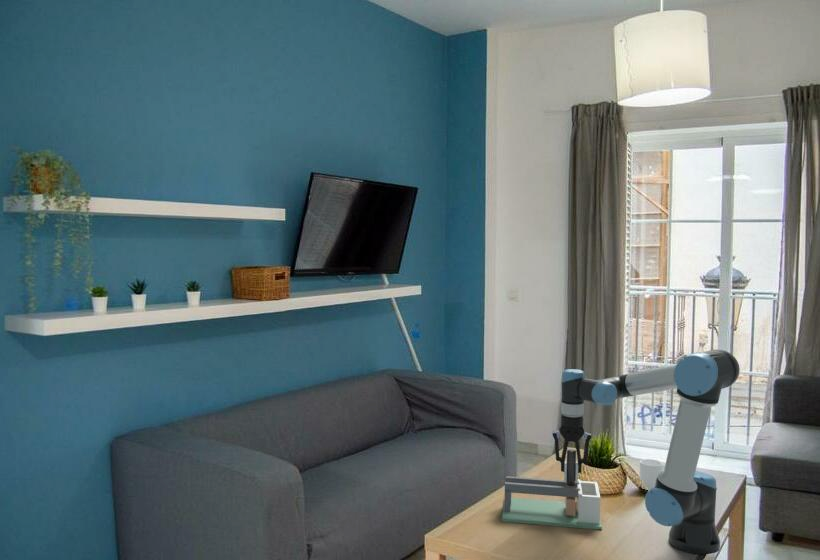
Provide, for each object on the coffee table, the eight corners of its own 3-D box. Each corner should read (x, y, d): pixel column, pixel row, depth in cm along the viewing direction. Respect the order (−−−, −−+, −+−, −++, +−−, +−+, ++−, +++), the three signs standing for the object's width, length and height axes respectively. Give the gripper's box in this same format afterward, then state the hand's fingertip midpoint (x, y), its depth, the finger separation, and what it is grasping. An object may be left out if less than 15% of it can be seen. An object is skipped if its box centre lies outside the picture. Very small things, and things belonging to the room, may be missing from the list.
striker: (575, 515, 242) (576, 455, 241) (566, 515, 243) (567, 454, 241) (573, 504, 252) (575, 446, 250) (565, 504, 252) (566, 446, 251)
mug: (657, 482, 282) (658, 456, 281) (673, 488, 274) (674, 462, 274) (634, 486, 277) (635, 460, 276) (650, 493, 269) (651, 467, 268)
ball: (592, 510, 243) (582, 499, 244) (581, 519, 244) (571, 508, 245) (592, 505, 248) (582, 494, 249) (581, 513, 249) (571, 503, 249)
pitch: (601, 529, 236) (602, 497, 235) (501, 521, 242) (502, 489, 241) (597, 507, 255) (598, 477, 255) (505, 499, 261) (505, 470, 261)
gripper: (595, 413, 247) (594, 479, 249) (548, 410, 250) (547, 476, 252) (597, 418, 240) (595, 486, 241) (548, 415, 243) (547, 483, 244)
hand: (570, 481), depth 246 cm, fingers open, 3 cm apart
